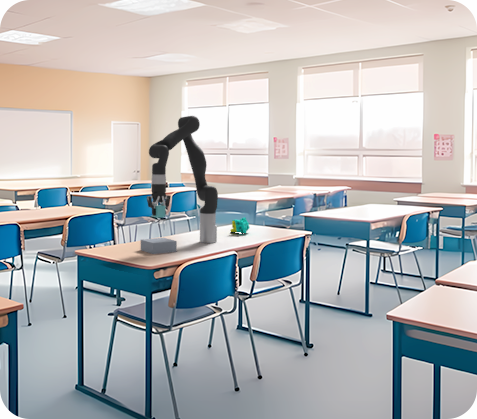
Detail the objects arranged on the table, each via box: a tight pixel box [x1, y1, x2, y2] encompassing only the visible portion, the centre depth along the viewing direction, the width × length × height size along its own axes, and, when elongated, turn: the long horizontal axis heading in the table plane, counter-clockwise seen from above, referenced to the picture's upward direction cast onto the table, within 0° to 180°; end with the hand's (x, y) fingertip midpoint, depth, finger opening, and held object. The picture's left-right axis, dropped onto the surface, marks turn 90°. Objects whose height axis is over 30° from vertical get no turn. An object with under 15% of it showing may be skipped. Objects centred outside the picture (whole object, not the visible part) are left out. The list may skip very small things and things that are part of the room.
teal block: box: [151, 204, 166, 219], centre depth 283 cm, size 5×5×6 cm
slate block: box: [140, 237, 178, 255], centre depth 285 cm, size 14×14×6 cm
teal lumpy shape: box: [229, 217, 250, 234], centre depth 356 cm, size 15×12×13 cm
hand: (158, 215), depth 284 cm, fingers closed on teal block, 5 cm apart
